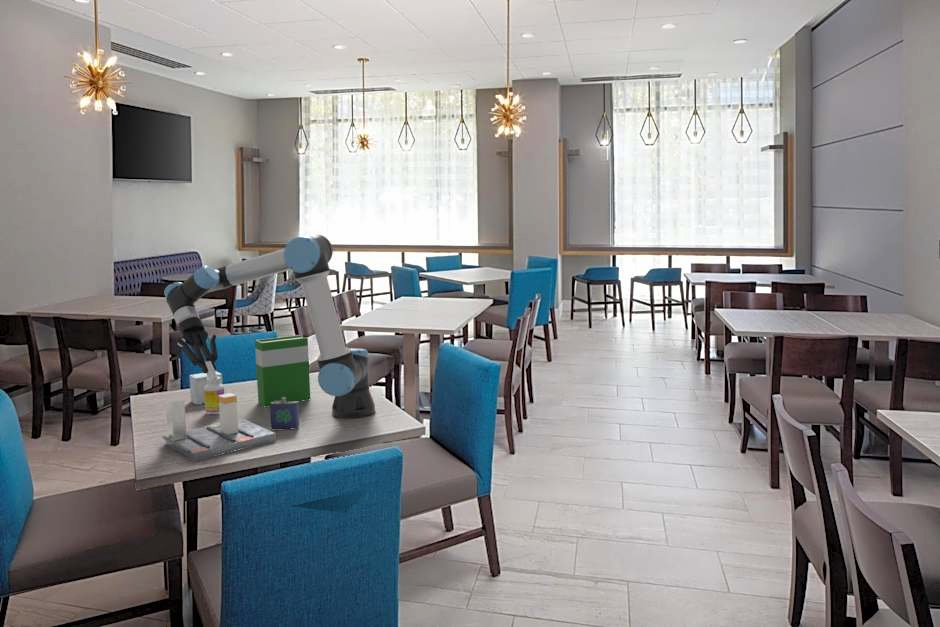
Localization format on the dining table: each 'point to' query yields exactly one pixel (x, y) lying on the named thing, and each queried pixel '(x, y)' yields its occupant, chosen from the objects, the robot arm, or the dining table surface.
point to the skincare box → (199, 386)
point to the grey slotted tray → (209, 435)
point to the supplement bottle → (213, 396)
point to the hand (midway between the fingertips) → (214, 379)
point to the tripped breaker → (228, 413)
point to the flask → (284, 414)
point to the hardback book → (282, 369)
